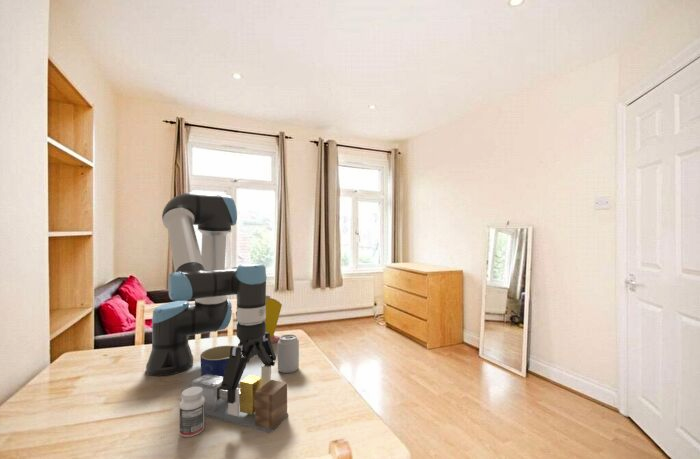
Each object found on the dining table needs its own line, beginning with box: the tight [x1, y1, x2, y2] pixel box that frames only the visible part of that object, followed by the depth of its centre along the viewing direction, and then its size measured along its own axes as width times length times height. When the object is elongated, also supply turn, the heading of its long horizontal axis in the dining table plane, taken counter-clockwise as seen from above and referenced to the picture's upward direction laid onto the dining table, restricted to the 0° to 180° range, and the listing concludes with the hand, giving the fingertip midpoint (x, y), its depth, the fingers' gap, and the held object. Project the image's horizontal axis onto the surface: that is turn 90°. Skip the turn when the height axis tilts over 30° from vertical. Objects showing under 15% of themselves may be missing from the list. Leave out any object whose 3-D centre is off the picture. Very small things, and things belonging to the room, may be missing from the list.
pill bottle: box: [179, 386, 206, 438], centre depth 79 cm, size 6×6×10 cm
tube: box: [217, 374, 262, 415], centre depth 86 cm, size 22×4×8 cm, turn 70°
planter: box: [200, 345, 238, 384], centre depth 102 cm, size 12×12×11 cm
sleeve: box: [191, 374, 228, 412], centre depth 90 cm, size 8×5×8 cm
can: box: [277, 333, 300, 374], centre depth 114 cm, size 8×8×12 cm
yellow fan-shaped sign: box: [235, 295, 283, 346], centre depth 141 cm, size 22×9×22 cm, turn 145°
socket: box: [255, 379, 288, 432], centre depth 83 cm, size 5×7×9 cm
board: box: [205, 403, 289, 434], centre depth 87 cm, size 27×8×1 cm, turn 70°
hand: (251, 400), depth 85 cm, fingers open, 13 cm apart
